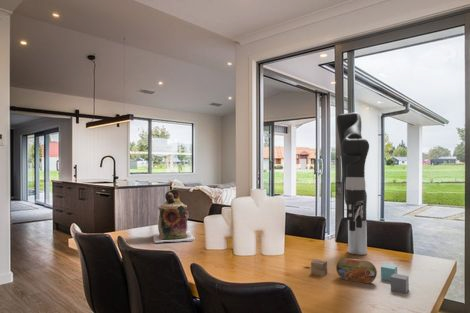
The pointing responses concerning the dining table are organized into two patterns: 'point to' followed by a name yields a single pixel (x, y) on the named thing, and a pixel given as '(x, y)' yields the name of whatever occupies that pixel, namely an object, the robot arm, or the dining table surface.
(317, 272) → the brownish grey cube
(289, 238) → the dining table surface
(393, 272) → the slate-teal cube
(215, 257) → the dining table surface
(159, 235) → the cookie jar
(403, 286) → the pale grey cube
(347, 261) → the tin
